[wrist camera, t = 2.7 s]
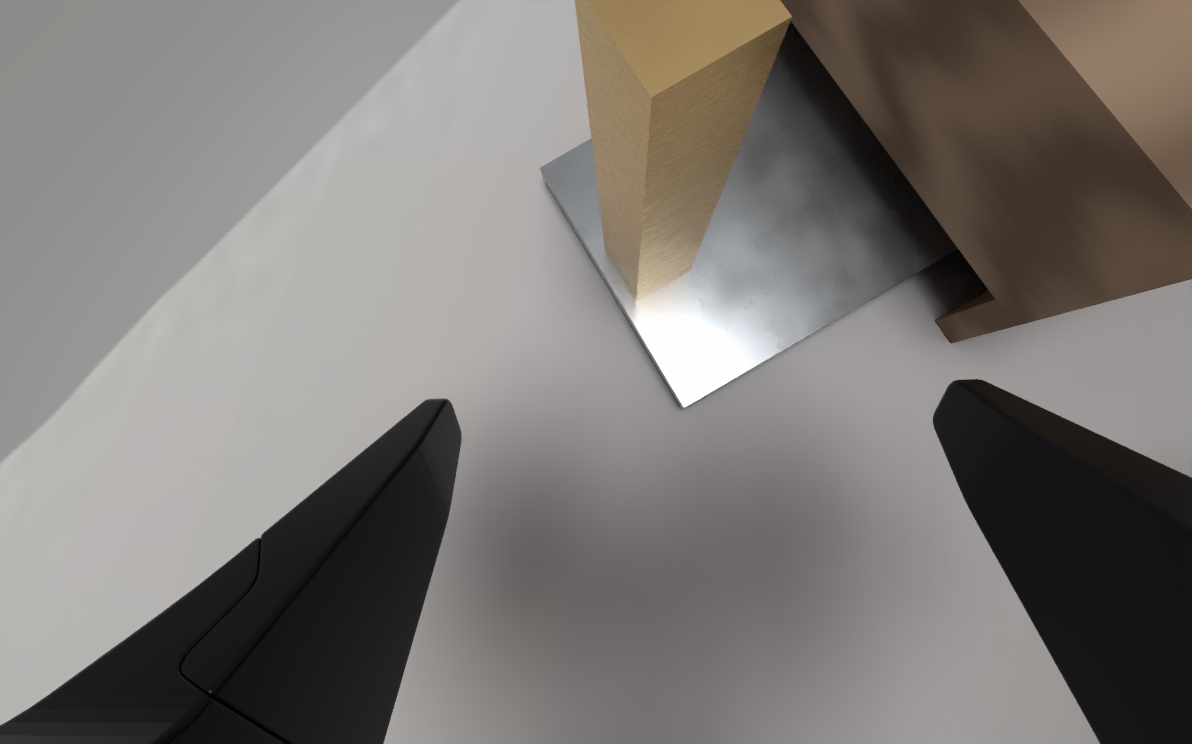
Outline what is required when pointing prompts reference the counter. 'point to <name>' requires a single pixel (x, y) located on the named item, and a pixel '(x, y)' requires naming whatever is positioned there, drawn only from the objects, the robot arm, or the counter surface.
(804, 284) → the grey plate wooden post
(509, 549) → the counter surface
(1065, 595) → the robot arm
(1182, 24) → the brown wooden block
